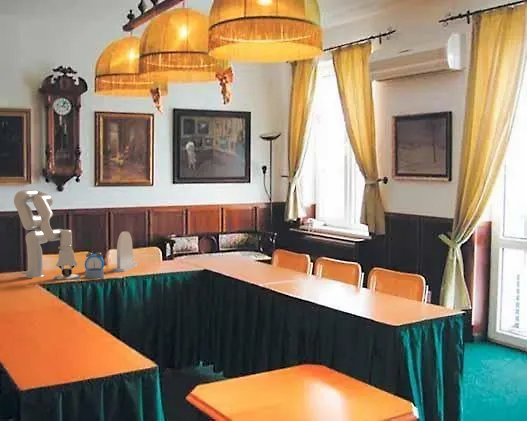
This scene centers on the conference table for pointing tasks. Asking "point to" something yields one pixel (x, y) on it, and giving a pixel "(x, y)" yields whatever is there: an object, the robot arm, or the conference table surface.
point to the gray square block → (94, 273)
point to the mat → (69, 279)
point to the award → (124, 253)
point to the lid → (66, 275)
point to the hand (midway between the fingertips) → (66, 275)
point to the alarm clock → (94, 260)
